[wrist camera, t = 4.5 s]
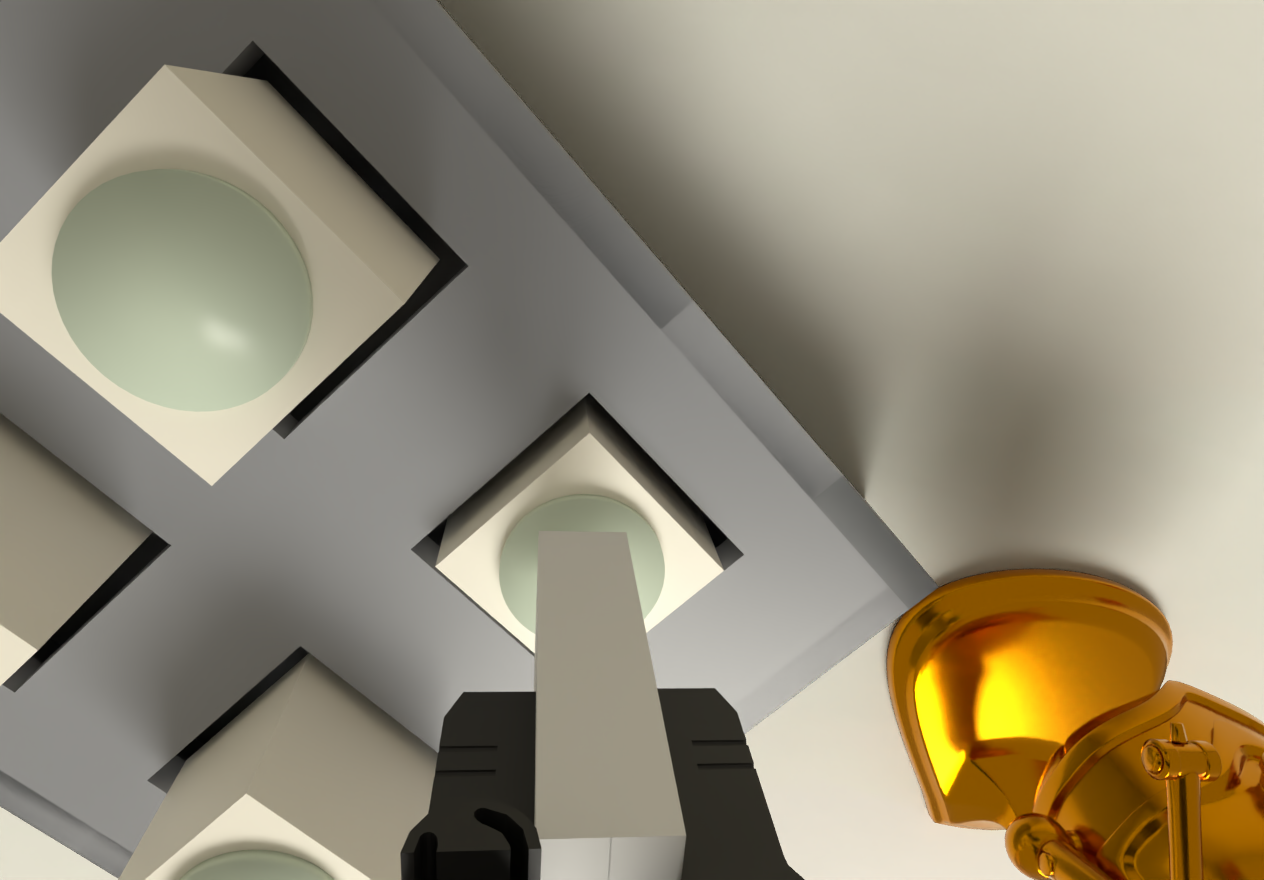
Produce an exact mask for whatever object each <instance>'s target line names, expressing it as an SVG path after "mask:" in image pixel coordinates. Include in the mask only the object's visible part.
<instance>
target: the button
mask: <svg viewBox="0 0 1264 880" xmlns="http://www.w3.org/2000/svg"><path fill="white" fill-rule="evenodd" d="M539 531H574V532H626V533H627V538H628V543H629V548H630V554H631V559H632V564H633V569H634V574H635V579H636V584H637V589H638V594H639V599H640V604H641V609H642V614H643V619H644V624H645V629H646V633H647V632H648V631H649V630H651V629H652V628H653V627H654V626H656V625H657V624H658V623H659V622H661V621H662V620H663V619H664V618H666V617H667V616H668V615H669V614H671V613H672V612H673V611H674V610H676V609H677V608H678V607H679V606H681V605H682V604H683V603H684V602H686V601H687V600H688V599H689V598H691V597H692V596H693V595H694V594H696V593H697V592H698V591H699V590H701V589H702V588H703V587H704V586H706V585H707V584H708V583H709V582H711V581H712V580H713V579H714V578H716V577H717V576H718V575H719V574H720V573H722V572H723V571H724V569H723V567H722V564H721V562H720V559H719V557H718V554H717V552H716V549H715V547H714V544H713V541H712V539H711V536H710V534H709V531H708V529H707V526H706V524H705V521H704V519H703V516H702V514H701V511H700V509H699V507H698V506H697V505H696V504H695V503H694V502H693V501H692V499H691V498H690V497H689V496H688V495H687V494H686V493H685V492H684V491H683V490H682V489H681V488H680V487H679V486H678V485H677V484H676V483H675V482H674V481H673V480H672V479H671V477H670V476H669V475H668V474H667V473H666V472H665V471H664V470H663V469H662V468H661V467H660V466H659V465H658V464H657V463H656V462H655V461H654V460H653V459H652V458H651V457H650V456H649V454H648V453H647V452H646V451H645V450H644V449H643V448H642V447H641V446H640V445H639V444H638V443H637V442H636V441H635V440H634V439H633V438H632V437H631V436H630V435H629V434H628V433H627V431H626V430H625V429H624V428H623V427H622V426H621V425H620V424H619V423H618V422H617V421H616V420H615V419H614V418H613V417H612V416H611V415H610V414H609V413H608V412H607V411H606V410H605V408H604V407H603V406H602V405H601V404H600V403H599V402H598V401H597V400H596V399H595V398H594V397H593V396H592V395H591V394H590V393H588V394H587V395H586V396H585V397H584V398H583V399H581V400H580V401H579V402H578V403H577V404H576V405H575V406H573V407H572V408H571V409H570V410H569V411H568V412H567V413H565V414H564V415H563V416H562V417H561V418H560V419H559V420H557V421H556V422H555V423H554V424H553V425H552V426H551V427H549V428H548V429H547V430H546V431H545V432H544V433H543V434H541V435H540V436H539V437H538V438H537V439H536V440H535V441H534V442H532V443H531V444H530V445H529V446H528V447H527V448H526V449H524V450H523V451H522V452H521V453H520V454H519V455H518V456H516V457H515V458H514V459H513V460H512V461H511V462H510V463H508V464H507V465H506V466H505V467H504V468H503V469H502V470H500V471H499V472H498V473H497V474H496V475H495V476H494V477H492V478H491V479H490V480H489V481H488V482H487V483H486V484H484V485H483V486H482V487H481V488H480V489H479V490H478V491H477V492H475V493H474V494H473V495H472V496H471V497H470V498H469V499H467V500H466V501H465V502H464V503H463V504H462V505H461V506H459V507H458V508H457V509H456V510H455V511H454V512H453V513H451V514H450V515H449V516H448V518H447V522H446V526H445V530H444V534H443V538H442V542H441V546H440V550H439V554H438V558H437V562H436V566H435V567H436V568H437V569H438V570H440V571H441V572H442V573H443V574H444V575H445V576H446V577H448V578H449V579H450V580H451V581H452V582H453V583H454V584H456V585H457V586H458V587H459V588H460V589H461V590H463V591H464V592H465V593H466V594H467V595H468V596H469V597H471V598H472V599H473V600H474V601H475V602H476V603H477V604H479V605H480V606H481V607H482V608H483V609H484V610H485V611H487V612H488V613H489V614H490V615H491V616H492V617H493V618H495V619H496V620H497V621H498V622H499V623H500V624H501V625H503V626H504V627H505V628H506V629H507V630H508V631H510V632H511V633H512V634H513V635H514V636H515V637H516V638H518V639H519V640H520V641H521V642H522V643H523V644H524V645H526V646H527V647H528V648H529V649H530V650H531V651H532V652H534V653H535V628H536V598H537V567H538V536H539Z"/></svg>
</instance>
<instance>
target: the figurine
mask: <svg viewBox="0 0 1264 880" xmlns="http://www.w3.org/2000/svg"><path fill="white" fill-rule="evenodd" d="M1172 645H1173V639H1172V631H1171V629H1170V626H1169V623H1168V621H1167V620H1166V618H1165V616H1164V615H1163V613H1162V612H1161V611H1160V610H1159V609H1158V608H1157V607H1156V606H1155V605H1154V604H1153V603H1152V602H1150V601H1149V600H1148V599H1147V598H1145V597H1144V596H1143V595H1141V594H1139V593H1138V592H1136V591H1135V590H1133V589H1131V588H1129V587H1127V586H1125V585H1123V584H1120V583H1118V582H1115V581H1112V580H1109V579H1106V578H1102V577H1099V576H1095V575H1090V574H1086V573H1080V572H1074V571H1066V570H1056V569H1014V570H1003V571H995V572H989V573H983V574H978V575H974V576H970V577H966V578H963V579H960V580H957V581H954V582H951V583H948V584H946V585H944V586H941V587H939V588H937V589H935V590H934V591H933V592H931V593H930V594H929V595H927V596H926V597H925V598H923V599H922V600H921V601H920V602H918V603H917V604H916V605H914V606H913V607H912V608H910V609H909V610H908V611H906V612H905V613H904V614H903V616H902V617H901V618H900V620H899V621H898V623H897V625H896V626H895V628H894V631H893V633H892V636H891V638H890V642H889V646H888V651H887V663H886V666H887V680H888V687H889V693H890V697H891V702H892V706H893V710H894V714H895V717H896V720H897V724H898V727H899V730H900V733H901V736H902V739H903V742H904V745H905V748H906V750H907V753H908V756H909V759H910V761H911V764H912V766H913V769H914V772H915V774H916V777H917V779H918V782H919V784H920V787H921V790H922V793H923V796H924V799H925V803H926V806H927V809H928V813H929V815H930V817H931V819H932V820H933V821H934V822H935V823H939V824H944V825H949V826H954V827H960V828H968V829H982V830H1004V829H1006V830H1007V831H1006V834H1005V847H1006V851H1007V854H1008V856H1009V858H1010V860H1011V862H1012V863H1013V864H1014V866H1015V867H1016V868H1017V869H1018V870H1019V871H1020V872H1021V873H1023V874H1025V875H1026V876H1028V877H1029V878H1032V879H1034V880H1264V723H1263V722H1262V721H1260V720H1259V719H1257V718H1256V717H1254V716H1253V715H1251V714H1250V713H1248V712H1246V711H1244V710H1242V709H1241V708H1239V707H1237V706H1235V705H1233V704H1231V703H1229V702H1226V701H1224V700H1222V699H1220V698H1218V697H1216V696H1214V695H1211V694H1209V693H1207V692H1204V691H1202V690H1200V689H1197V688H1195V687H1192V686H1190V685H1187V684H1184V683H1181V682H1178V681H1171V680H1169V681H1167V682H1166V683H1165V684H1164V685H1163V687H1162V688H1161V689H1160V686H1161V684H1162V682H1163V680H1164V677H1165V673H1166V669H1167V666H1168V664H1169V661H1170V657H1171V653H1172Z"/></svg>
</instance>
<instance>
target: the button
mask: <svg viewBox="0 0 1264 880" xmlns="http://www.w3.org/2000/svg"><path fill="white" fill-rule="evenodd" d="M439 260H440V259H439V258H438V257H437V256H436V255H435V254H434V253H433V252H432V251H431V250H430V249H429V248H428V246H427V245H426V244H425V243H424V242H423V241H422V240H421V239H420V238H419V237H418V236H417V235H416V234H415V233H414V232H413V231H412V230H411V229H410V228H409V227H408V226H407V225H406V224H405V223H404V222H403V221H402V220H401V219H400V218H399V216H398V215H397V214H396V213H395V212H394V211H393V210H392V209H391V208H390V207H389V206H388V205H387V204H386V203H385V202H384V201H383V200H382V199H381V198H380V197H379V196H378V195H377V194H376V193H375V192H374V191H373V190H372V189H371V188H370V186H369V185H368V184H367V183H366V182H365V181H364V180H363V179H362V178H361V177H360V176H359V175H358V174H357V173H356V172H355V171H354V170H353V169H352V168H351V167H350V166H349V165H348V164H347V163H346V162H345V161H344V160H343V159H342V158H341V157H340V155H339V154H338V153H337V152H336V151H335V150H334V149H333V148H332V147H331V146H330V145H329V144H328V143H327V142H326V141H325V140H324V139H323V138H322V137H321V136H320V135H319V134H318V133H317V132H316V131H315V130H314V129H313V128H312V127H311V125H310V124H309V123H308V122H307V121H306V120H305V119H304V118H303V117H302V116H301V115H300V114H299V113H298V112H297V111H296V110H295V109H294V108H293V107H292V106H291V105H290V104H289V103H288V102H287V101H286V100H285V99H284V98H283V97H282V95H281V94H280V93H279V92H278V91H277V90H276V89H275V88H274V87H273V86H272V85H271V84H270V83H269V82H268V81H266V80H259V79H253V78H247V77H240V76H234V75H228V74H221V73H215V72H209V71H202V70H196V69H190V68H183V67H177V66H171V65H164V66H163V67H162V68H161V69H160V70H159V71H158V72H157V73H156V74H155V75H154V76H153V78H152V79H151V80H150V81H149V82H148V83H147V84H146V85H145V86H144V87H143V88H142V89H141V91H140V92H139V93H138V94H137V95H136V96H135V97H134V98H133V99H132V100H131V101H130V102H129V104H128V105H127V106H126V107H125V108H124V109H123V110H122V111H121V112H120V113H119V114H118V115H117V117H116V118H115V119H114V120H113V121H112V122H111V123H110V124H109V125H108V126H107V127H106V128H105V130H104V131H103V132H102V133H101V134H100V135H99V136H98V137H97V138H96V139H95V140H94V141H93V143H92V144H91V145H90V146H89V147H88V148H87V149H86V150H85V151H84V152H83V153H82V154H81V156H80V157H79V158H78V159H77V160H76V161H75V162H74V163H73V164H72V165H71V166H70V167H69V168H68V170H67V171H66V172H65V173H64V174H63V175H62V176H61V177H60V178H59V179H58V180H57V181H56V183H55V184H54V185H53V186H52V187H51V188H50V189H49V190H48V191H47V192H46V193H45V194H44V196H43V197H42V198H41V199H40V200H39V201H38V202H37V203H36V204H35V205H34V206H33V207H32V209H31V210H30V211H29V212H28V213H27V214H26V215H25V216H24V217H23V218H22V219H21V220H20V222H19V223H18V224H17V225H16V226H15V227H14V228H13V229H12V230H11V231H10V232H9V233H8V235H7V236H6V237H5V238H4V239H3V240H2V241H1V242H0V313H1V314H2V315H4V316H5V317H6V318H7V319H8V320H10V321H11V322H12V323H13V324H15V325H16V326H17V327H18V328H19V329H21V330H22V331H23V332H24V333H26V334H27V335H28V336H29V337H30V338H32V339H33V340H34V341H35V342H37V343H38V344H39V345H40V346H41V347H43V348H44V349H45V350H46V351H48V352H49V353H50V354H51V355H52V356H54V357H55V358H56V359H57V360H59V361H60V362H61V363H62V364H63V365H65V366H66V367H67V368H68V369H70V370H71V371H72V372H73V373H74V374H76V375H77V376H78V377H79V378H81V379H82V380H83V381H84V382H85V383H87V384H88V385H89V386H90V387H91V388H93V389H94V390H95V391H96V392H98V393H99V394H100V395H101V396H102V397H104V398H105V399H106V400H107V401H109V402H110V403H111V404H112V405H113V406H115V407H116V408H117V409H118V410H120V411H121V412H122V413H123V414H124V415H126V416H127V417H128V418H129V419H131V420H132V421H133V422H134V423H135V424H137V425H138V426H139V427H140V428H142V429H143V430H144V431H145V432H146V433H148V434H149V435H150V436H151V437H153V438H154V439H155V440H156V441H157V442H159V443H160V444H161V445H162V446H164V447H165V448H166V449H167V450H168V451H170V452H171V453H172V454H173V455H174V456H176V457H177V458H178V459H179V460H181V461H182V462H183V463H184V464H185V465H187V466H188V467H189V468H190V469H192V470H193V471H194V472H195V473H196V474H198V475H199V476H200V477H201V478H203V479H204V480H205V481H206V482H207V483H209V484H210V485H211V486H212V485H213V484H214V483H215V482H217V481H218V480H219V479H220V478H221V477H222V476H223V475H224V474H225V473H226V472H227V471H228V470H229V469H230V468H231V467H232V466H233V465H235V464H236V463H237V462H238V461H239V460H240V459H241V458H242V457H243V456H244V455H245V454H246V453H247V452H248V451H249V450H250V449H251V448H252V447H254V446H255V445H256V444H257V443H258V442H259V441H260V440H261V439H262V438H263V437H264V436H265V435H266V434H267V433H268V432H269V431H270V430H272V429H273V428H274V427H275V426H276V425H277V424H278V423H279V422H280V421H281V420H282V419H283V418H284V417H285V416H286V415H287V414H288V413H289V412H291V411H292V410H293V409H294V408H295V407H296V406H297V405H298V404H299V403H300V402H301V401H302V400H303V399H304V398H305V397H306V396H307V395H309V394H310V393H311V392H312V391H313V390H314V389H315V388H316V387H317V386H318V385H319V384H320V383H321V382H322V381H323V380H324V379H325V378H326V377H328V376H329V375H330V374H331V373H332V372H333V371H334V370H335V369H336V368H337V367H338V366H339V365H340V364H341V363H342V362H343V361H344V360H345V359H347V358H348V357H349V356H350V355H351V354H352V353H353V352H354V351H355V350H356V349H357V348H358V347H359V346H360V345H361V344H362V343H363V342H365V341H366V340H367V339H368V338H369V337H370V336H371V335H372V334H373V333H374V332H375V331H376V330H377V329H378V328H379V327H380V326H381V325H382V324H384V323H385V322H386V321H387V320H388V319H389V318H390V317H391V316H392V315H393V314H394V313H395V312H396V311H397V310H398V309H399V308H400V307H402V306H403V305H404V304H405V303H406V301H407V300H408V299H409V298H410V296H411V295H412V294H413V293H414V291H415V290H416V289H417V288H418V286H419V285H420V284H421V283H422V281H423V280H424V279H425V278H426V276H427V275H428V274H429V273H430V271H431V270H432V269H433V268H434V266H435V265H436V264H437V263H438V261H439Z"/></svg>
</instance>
